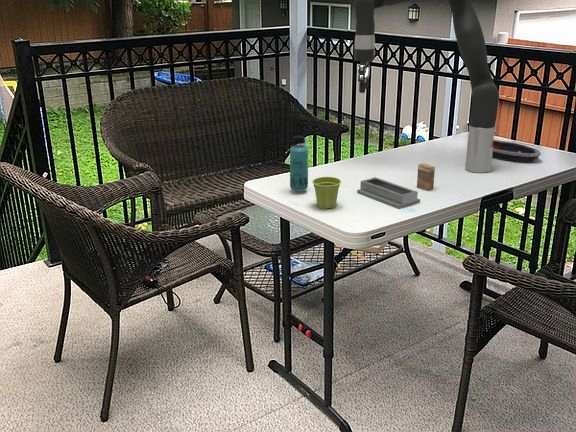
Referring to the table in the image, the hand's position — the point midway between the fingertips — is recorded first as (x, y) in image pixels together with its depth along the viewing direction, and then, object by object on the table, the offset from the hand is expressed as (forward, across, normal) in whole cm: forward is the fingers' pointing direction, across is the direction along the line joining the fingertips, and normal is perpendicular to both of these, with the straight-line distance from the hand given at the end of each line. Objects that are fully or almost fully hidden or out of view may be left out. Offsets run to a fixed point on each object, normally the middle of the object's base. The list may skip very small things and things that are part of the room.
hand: (363, 90), depth 229 cm
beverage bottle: (+30, -38, +17) cm, 51 cm away
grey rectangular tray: (+29, -38, -14) cm, 50 cm away
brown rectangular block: (+29, -26, -26) cm, 47 cm away
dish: (+30, +23, -56) cm, 67 cm away
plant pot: (+30, -50, +5) cm, 58 cm away
